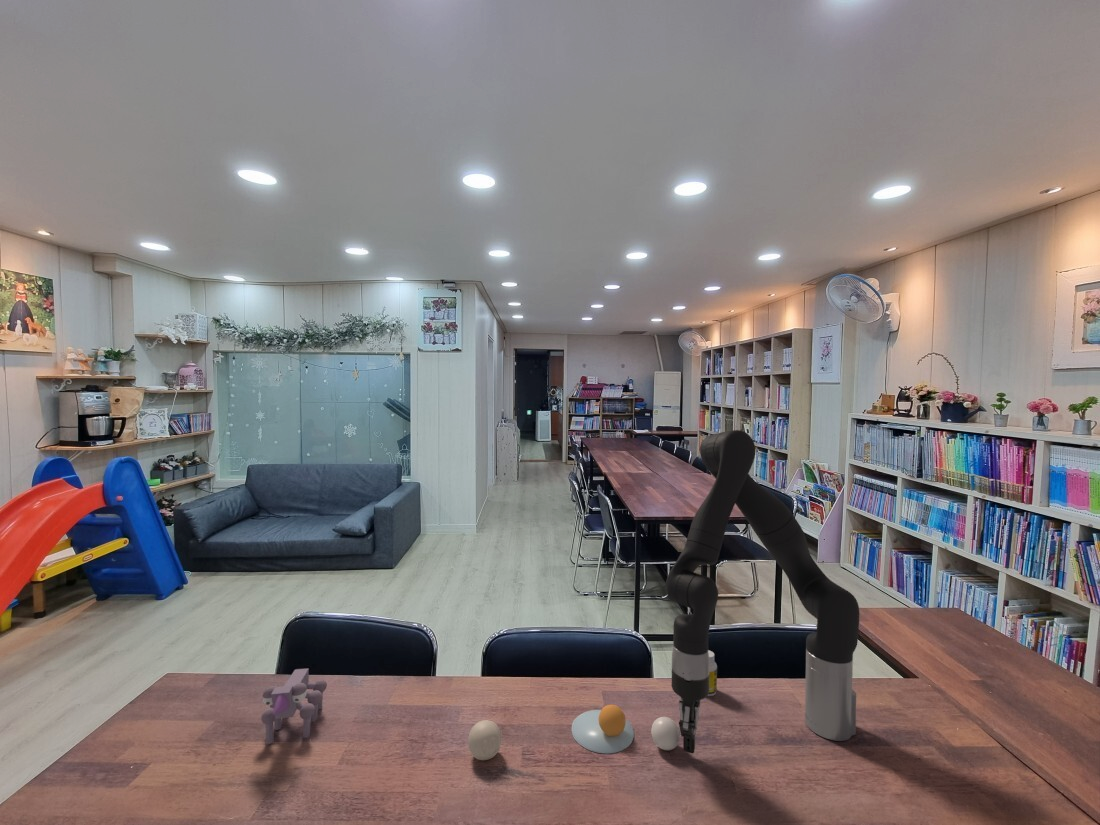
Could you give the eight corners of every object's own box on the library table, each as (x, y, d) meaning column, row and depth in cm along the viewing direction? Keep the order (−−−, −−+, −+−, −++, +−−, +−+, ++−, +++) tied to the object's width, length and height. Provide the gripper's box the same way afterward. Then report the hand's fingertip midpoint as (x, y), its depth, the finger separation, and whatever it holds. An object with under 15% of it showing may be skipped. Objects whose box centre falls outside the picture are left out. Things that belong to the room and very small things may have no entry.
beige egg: (475, 774, 93) (475, 741, 93) (464, 750, 99) (464, 719, 99) (506, 762, 96) (507, 730, 96) (494, 740, 103) (494, 710, 103)
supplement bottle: (718, 698, 118) (718, 659, 118) (695, 695, 119) (696, 657, 119) (715, 685, 124) (715, 649, 123) (693, 683, 125) (694, 646, 124)
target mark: (624, 709, 114) (624, 708, 114) (641, 751, 100) (641, 750, 100) (567, 712, 112) (567, 711, 112) (576, 755, 98) (576, 754, 98)
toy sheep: (303, 766, 95) (299, 699, 94) (244, 776, 93) (240, 708, 92) (330, 704, 114) (327, 649, 114) (282, 711, 112) (279, 655, 112)
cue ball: (676, 712, 104) (657, 727, 106) (660, 709, 101) (641, 724, 103) (690, 742, 99) (670, 757, 101) (674, 739, 96) (653, 755, 98)
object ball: (627, 703, 108) (604, 705, 110) (617, 703, 103) (592, 705, 106) (631, 735, 104) (607, 736, 107) (620, 736, 100) (595, 737, 102)
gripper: (677, 649, 105) (676, 725, 106) (666, 680, 93) (665, 766, 94) (712, 656, 102) (711, 735, 103) (705, 690, 90) (704, 779, 91)
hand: (689, 750), depth 98 cm, fingers closed
